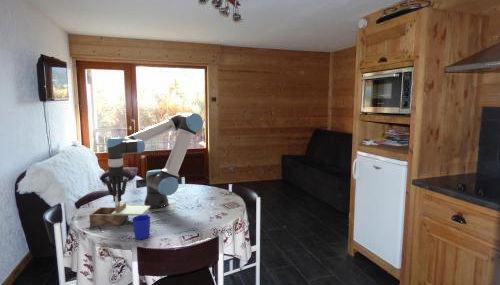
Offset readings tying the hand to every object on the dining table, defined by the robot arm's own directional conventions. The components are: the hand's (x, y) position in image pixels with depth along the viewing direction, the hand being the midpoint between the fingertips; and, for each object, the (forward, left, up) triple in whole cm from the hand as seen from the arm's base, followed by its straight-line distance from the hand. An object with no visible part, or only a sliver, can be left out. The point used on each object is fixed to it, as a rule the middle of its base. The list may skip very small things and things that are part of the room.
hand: (117, 207), depth 168 cm
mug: (-20, +17, -9) cm, 28 cm away
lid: (-8, 0, -2) cm, 8 cm away
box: (+5, 0, -8) cm, 10 cm away
